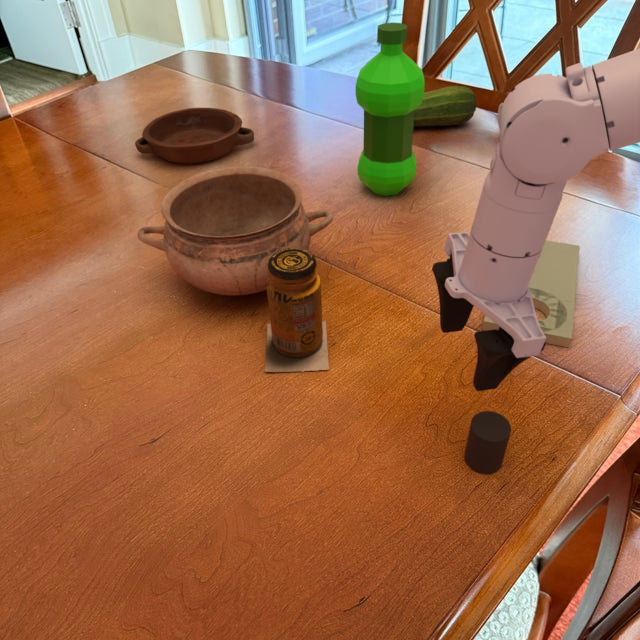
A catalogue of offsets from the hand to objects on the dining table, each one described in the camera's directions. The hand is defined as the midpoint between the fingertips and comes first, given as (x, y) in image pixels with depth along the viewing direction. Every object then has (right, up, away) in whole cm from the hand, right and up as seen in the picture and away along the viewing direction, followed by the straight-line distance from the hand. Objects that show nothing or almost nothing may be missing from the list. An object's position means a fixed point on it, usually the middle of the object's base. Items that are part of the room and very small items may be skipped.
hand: (467, 356), depth 57 cm
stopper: (+2, -10, +2) cm, 10 cm away
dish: (-37, +36, +58) cm, 77 cm away
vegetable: (+6, +42, +62) cm, 75 cm away
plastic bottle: (-3, +25, +44) cm, 50 cm away
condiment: (-17, 0, +15) cm, 22 cm away
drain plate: (+14, +7, +21) cm, 27 cm away
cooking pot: (-24, +9, +26) cm, 37 cm away
